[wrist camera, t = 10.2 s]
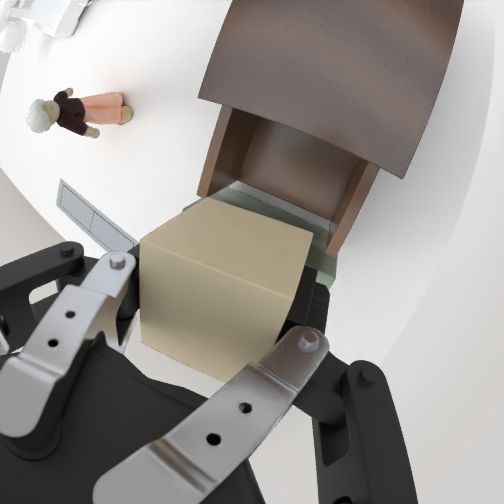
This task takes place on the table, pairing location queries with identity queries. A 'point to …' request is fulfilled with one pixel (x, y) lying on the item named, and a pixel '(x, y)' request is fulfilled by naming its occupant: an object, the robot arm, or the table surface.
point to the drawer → (288, 179)
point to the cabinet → (337, 69)
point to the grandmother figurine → (78, 112)
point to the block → (218, 285)
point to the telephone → (37, 19)
